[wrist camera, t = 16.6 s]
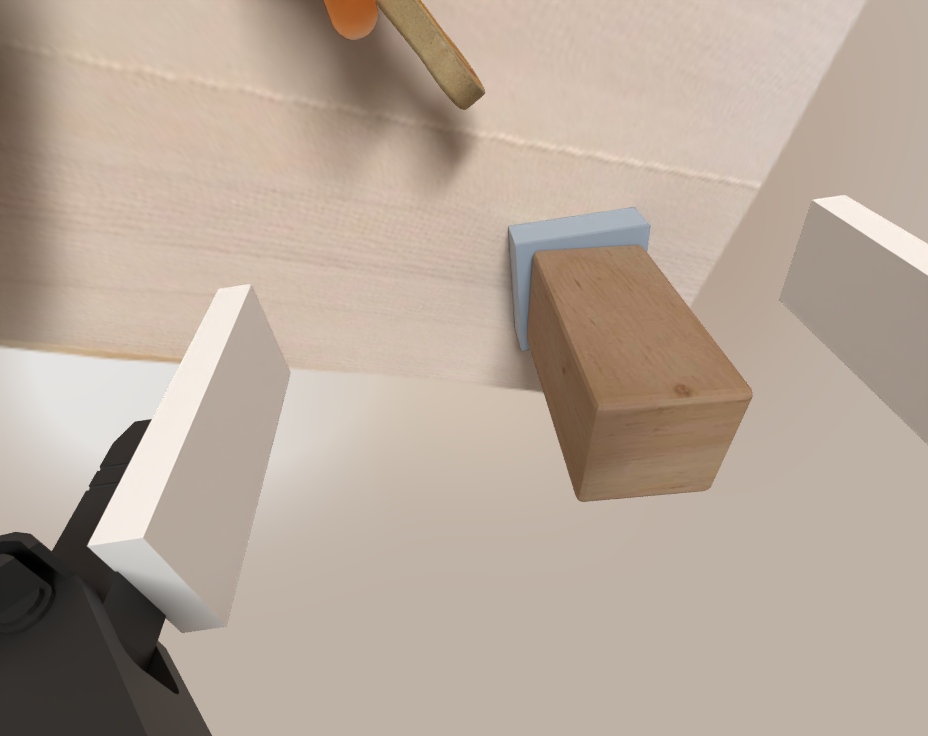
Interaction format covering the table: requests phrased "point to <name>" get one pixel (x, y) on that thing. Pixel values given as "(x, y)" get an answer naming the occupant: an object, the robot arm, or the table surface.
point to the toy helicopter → (412, 41)
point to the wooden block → (629, 375)
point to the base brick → (566, 235)
